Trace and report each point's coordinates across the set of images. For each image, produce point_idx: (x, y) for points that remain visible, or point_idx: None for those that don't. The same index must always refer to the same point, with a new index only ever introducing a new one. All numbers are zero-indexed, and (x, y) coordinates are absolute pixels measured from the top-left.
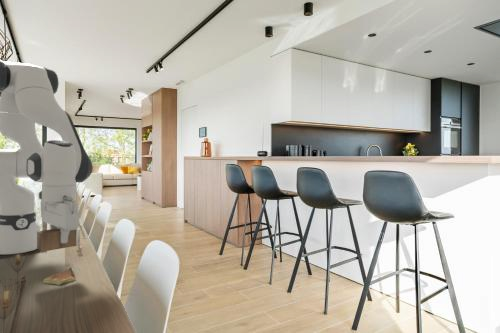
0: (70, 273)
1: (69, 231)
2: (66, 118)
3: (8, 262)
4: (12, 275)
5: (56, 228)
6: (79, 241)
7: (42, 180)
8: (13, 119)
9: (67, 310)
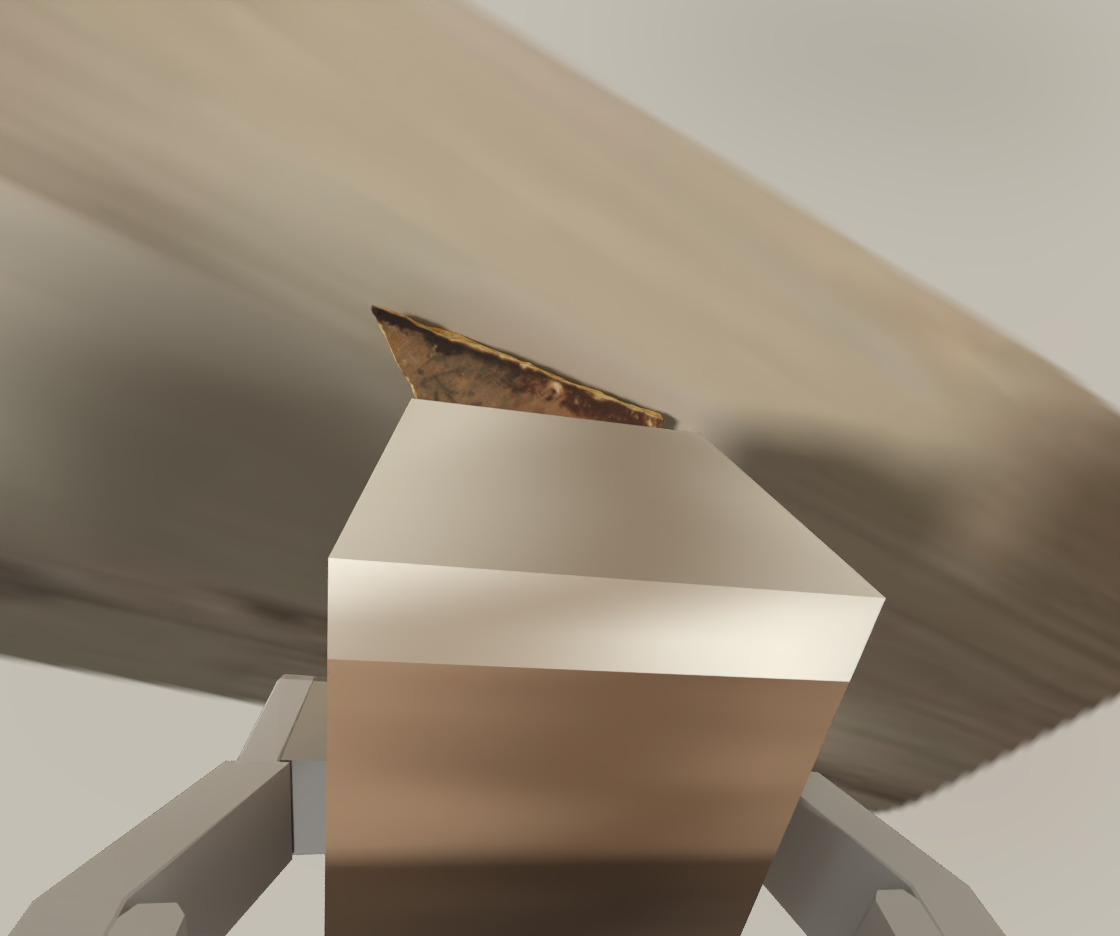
0: (558, 408)
1: (962, 888)
2: None
3: None
4: (149, 644)
5: (187, 890)
6: (722, 460)
7: None
8: None
9: (995, 640)
